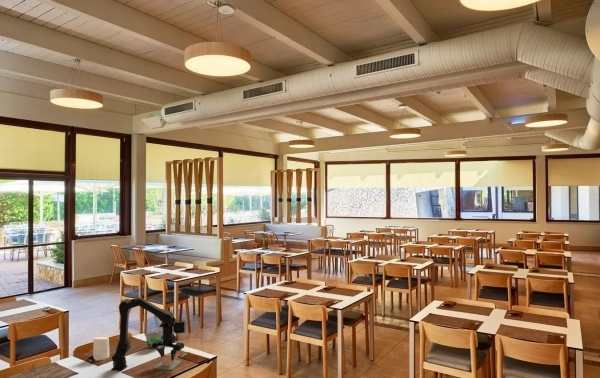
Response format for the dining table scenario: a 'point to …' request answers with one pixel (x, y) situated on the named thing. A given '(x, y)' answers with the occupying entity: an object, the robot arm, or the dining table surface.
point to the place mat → (175, 364)
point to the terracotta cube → (167, 360)
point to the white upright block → (101, 348)
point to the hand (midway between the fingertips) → (168, 359)
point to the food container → (153, 338)
